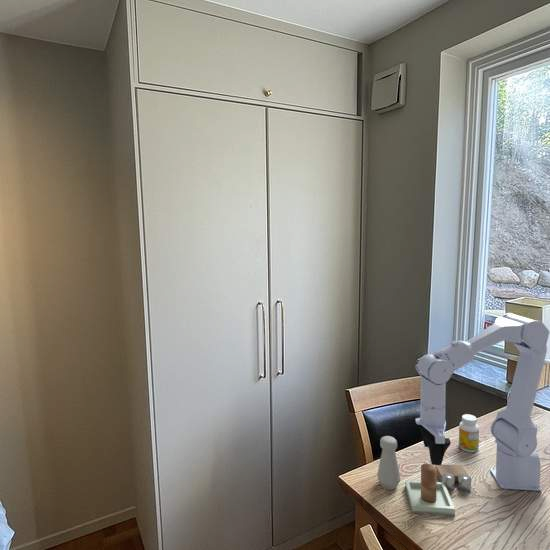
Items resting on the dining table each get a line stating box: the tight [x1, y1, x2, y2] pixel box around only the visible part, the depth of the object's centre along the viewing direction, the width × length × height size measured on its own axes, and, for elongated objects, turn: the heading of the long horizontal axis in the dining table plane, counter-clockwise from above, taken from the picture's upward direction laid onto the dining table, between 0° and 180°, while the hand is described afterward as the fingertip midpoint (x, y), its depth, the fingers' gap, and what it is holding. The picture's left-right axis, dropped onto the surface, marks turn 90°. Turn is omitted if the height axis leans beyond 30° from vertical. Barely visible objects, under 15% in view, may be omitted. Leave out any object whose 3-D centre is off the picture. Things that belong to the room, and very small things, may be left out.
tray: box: [404, 479, 456, 517], centre depth 98 cm, size 10×10×2 cm
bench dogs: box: [442, 473, 472, 493], centre depth 102 cm, size 7×3×3 cm, turn 81°
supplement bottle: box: [458, 413, 480, 453], centre depth 120 cm, size 5×5×10 cm
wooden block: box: [434, 463, 470, 485], centre depth 107 cm, size 7×5×2 cm
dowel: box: [420, 463, 438, 503], centre depth 98 cm, size 4×4×8 cm
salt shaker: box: [376, 435, 401, 491], centre depth 104 cm, size 6×6×13 cm
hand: (432, 455), depth 100 cm, fingers open, 7 cm apart
